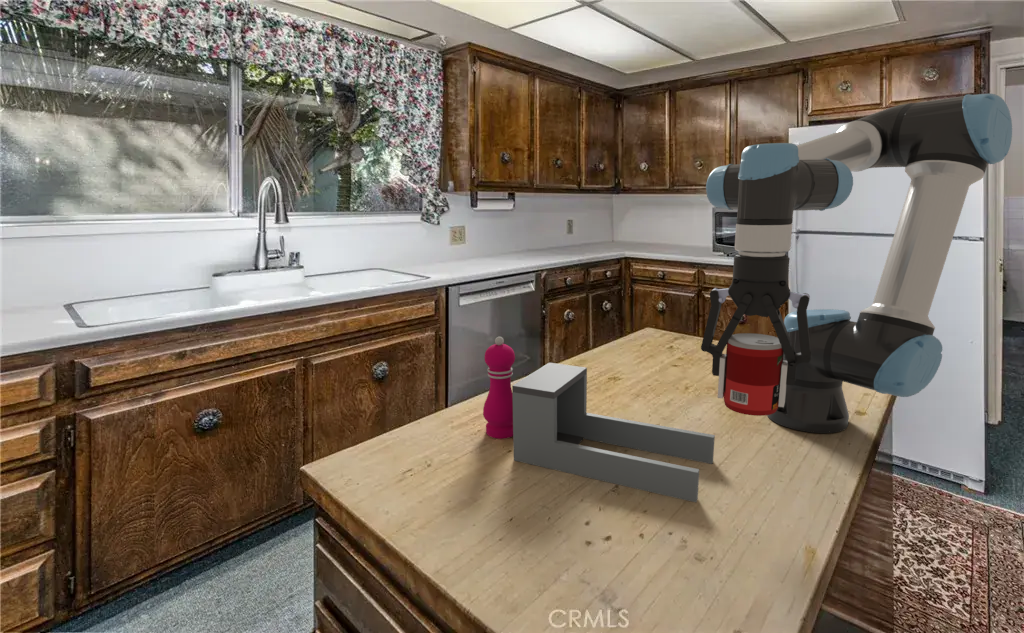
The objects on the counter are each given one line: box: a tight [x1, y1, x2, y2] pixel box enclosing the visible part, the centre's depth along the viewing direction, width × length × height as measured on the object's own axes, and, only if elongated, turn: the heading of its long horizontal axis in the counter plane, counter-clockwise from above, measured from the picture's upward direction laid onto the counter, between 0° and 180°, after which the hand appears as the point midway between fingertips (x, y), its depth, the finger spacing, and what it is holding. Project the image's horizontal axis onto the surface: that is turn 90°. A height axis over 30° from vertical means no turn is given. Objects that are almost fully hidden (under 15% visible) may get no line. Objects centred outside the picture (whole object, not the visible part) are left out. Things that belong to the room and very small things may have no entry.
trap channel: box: [511, 362, 716, 503], centre depth 100 cm, size 32×15×14 cm, turn 62°
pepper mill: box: [482, 336, 516, 440], centre depth 112 cm, size 7×7×20 cm
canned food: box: [723, 332, 784, 417], centre depth 87 cm, size 8×8×11 cm
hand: (750, 399), depth 88 cm, fingers closed on canned food, 8 cm apart
